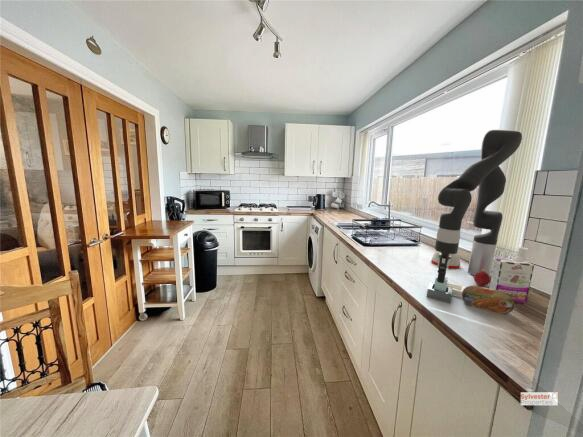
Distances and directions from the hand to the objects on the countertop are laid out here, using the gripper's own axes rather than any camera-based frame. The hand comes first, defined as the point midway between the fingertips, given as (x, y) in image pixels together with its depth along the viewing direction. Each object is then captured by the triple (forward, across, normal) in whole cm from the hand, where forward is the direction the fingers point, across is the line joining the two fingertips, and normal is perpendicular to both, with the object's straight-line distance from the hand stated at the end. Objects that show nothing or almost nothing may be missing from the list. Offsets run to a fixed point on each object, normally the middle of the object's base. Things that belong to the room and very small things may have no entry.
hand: (441, 278), depth 95 cm
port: (+8, 0, 0) cm, 8 cm away
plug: (+7, 0, 0) cm, 7 cm away
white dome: (+9, +49, 0) cm, 50 cm away
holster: (+8, +8, -5) cm, 12 cm away
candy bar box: (+8, +17, -23) cm, 30 cm away
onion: (+8, +25, -15) cm, 30 cm away
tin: (+8, +1, -15) cm, 17 cm away
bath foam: (+8, +29, -26) cm, 40 cm away
